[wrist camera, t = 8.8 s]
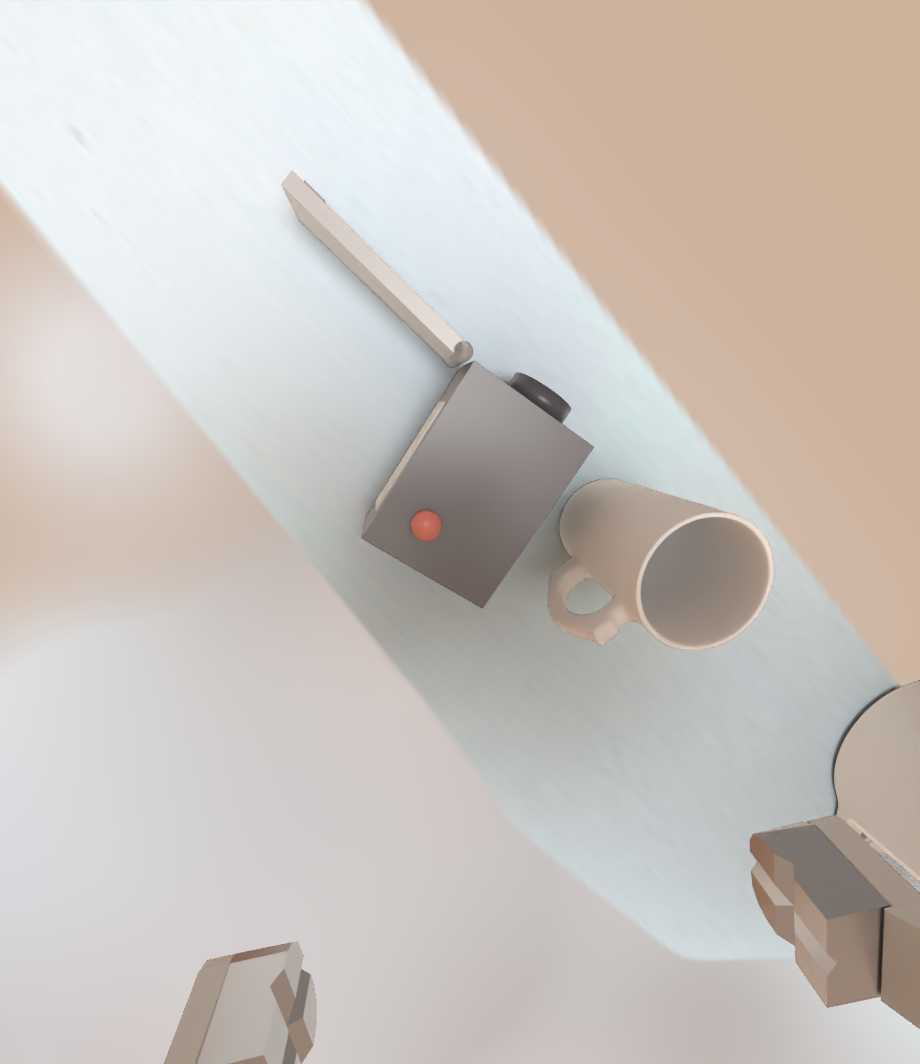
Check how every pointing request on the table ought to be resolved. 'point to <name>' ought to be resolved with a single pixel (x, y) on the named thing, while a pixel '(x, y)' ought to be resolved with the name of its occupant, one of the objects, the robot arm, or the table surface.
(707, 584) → the mug
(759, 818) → the table surface
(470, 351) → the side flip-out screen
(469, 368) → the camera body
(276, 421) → the table surface
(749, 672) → the table surface
